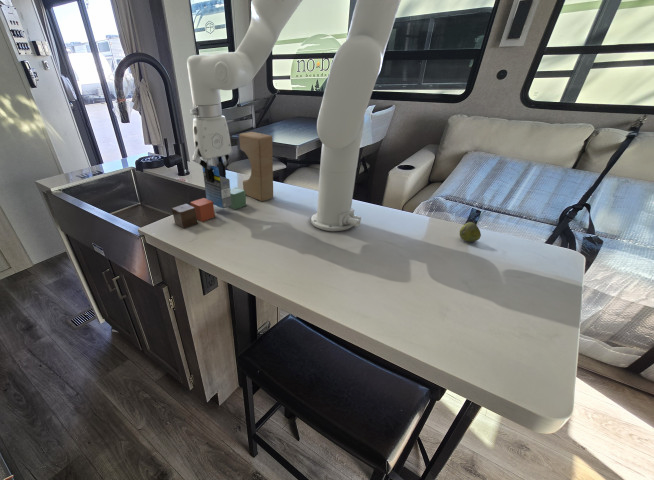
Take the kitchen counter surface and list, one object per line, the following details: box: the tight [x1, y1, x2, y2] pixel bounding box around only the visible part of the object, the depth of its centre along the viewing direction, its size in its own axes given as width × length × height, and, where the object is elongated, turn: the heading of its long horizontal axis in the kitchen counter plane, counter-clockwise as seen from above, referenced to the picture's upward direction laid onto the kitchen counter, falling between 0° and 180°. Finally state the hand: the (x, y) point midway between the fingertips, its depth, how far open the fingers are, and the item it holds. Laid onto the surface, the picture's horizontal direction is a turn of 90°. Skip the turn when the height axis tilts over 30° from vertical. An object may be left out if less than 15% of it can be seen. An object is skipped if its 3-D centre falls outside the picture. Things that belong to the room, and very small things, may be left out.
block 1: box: [171, 203, 199, 229], centre depth 94 cm, size 5×5×5 cm
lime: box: [459, 221, 482, 243], centre depth 78 cm, size 4×5×5 cm
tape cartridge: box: [201, 164, 231, 209], centre depth 96 cm, size 9×4×12 cm, turn 43°
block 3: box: [228, 187, 247, 210], centre depth 104 cm, size 5×5×5 cm
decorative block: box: [238, 131, 274, 202], centre depth 105 cm, size 11×6×20 cm, turn 38°
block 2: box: [190, 197, 216, 223], centre depth 97 cm, size 5×5×5 cm
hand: (216, 179), depth 96 cm, fingers closed on tape cartridge, 3 cm apart
